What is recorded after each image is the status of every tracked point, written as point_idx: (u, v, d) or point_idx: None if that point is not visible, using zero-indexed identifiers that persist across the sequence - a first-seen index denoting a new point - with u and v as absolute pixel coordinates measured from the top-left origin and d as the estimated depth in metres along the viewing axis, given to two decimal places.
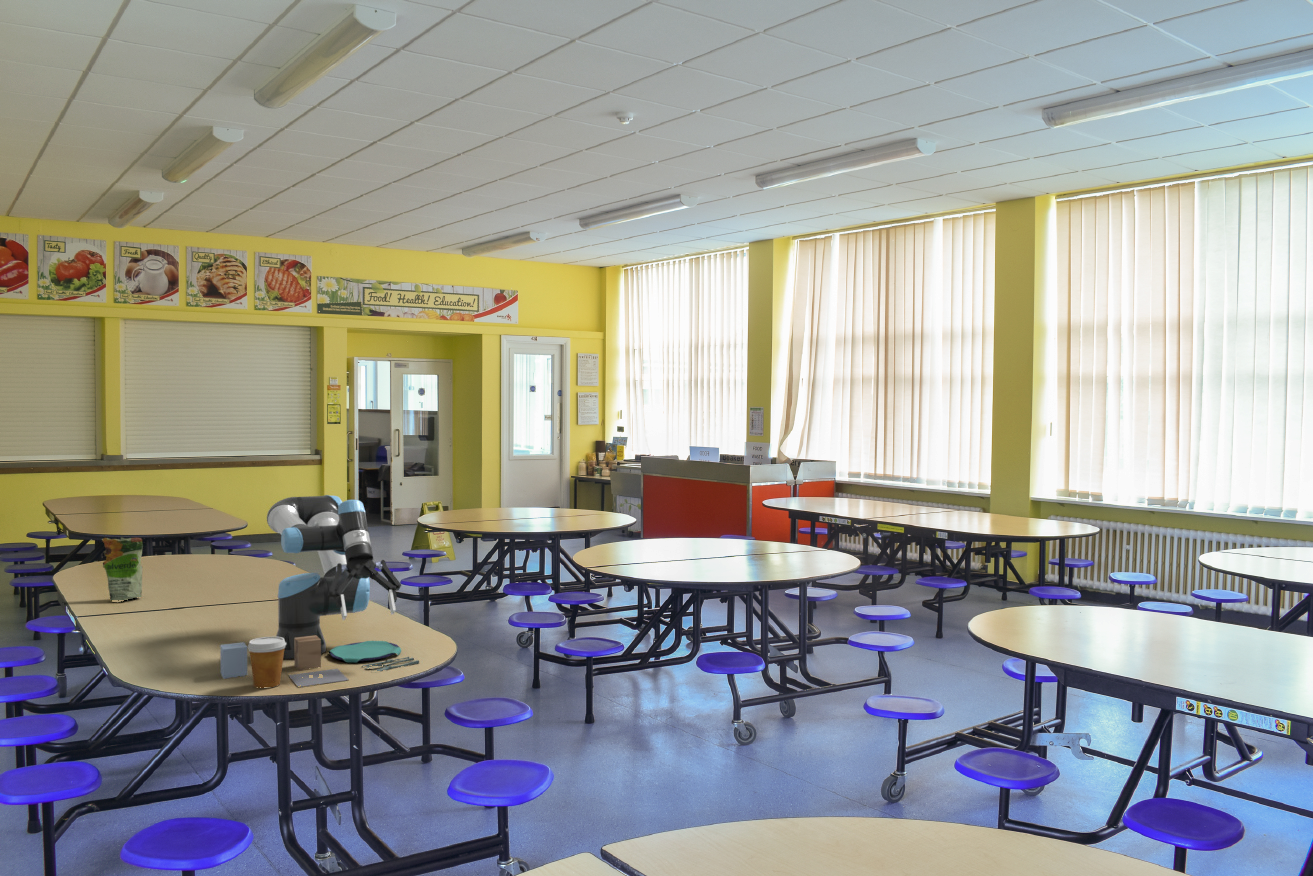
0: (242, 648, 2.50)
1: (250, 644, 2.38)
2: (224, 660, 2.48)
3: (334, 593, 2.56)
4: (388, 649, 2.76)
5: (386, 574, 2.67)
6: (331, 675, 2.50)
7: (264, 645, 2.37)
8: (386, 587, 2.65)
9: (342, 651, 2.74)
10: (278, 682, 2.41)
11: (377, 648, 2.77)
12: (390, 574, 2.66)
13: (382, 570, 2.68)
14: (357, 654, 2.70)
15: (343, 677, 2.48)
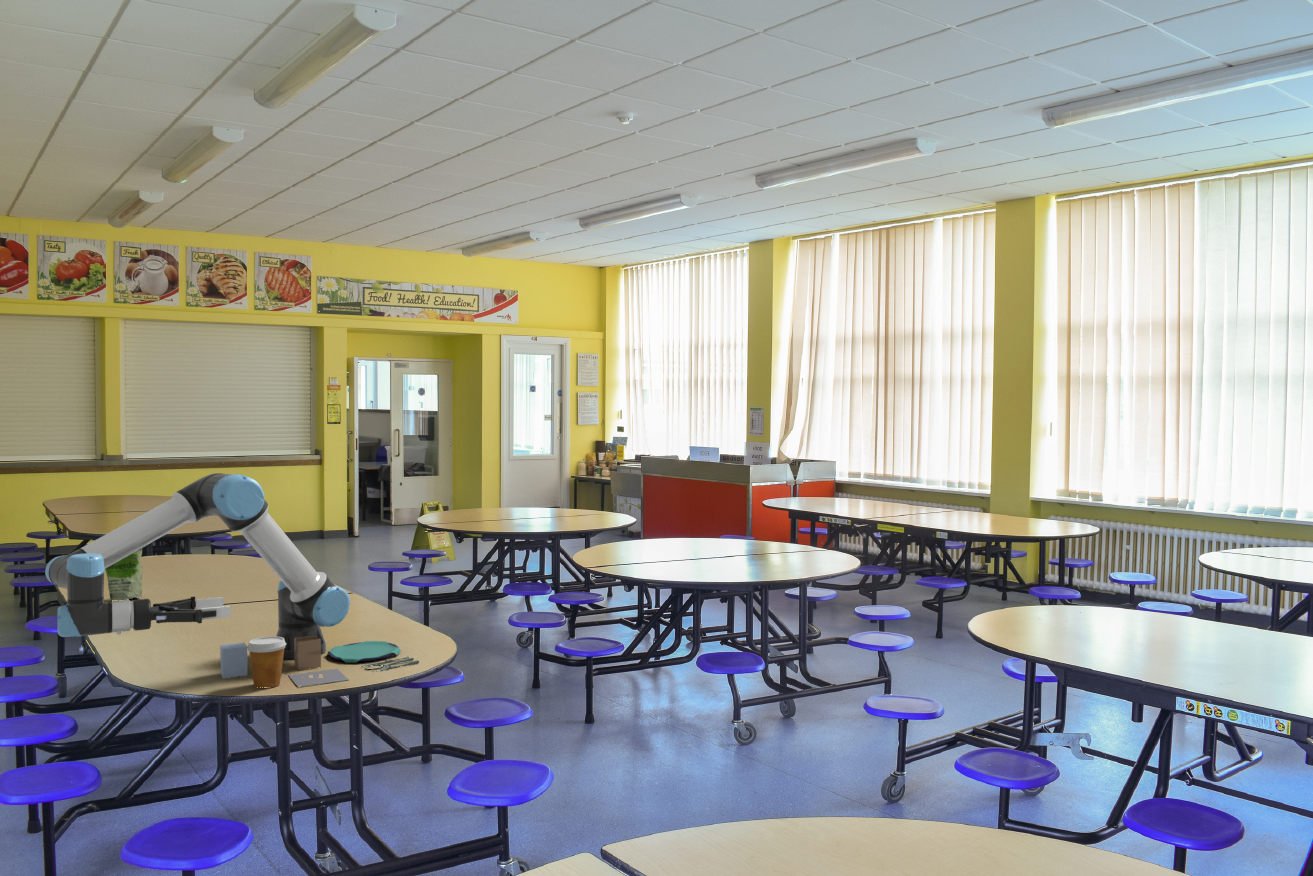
0: (242, 648, 2.50)
1: (250, 644, 2.38)
2: (224, 660, 2.48)
3: None
4: (387, 649, 2.76)
5: None
6: (331, 675, 2.50)
7: (264, 645, 2.37)
8: None
9: (341, 651, 2.73)
10: (278, 682, 2.41)
11: (376, 648, 2.77)
12: None
13: None
14: (356, 654, 2.70)
15: (343, 677, 2.48)
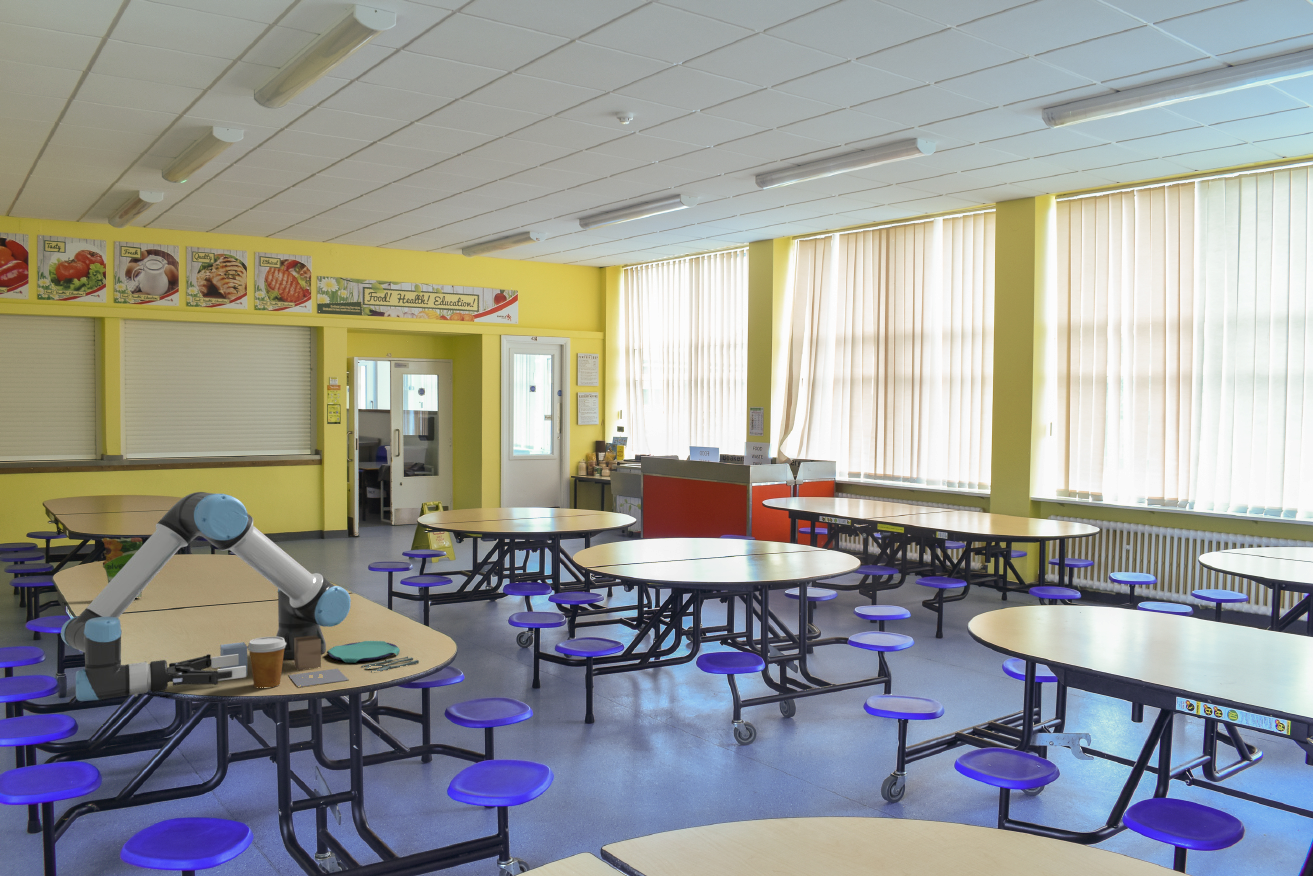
0: (242, 648, 2.50)
1: (250, 644, 2.38)
2: None
3: None
4: (386, 649, 2.76)
5: None
6: (331, 675, 2.50)
7: (264, 645, 2.37)
8: None
9: (340, 651, 2.73)
10: (278, 682, 2.41)
11: (375, 648, 2.77)
12: None
13: None
14: (355, 654, 2.70)
15: (343, 677, 2.48)
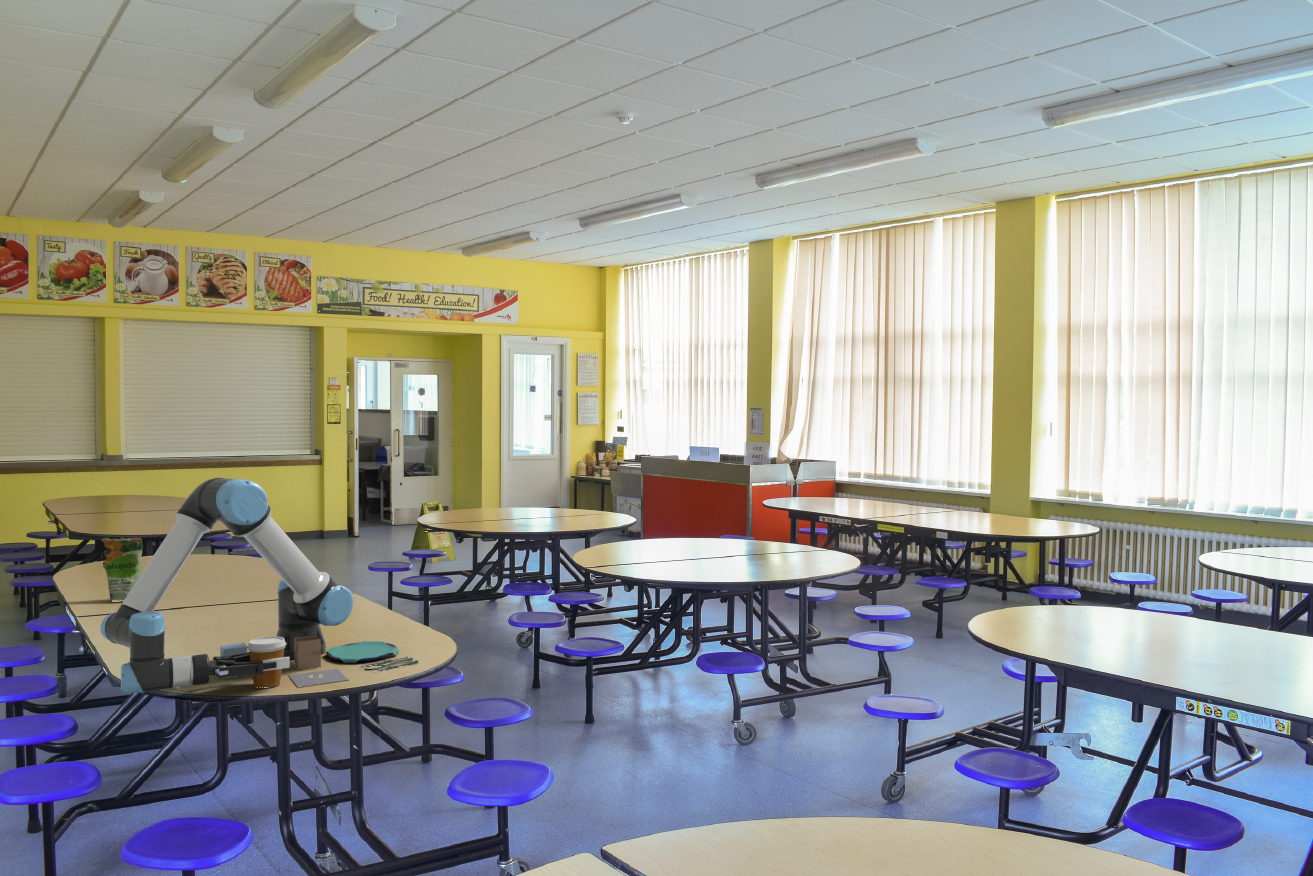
0: (242, 648, 2.50)
1: (250, 644, 2.38)
2: None
3: None
4: (385, 649, 2.76)
5: None
6: (331, 675, 2.50)
7: (264, 645, 2.37)
8: None
9: (339, 651, 2.73)
10: (278, 682, 2.41)
11: (374, 648, 2.77)
12: None
13: None
14: (355, 654, 2.70)
15: (343, 677, 2.48)
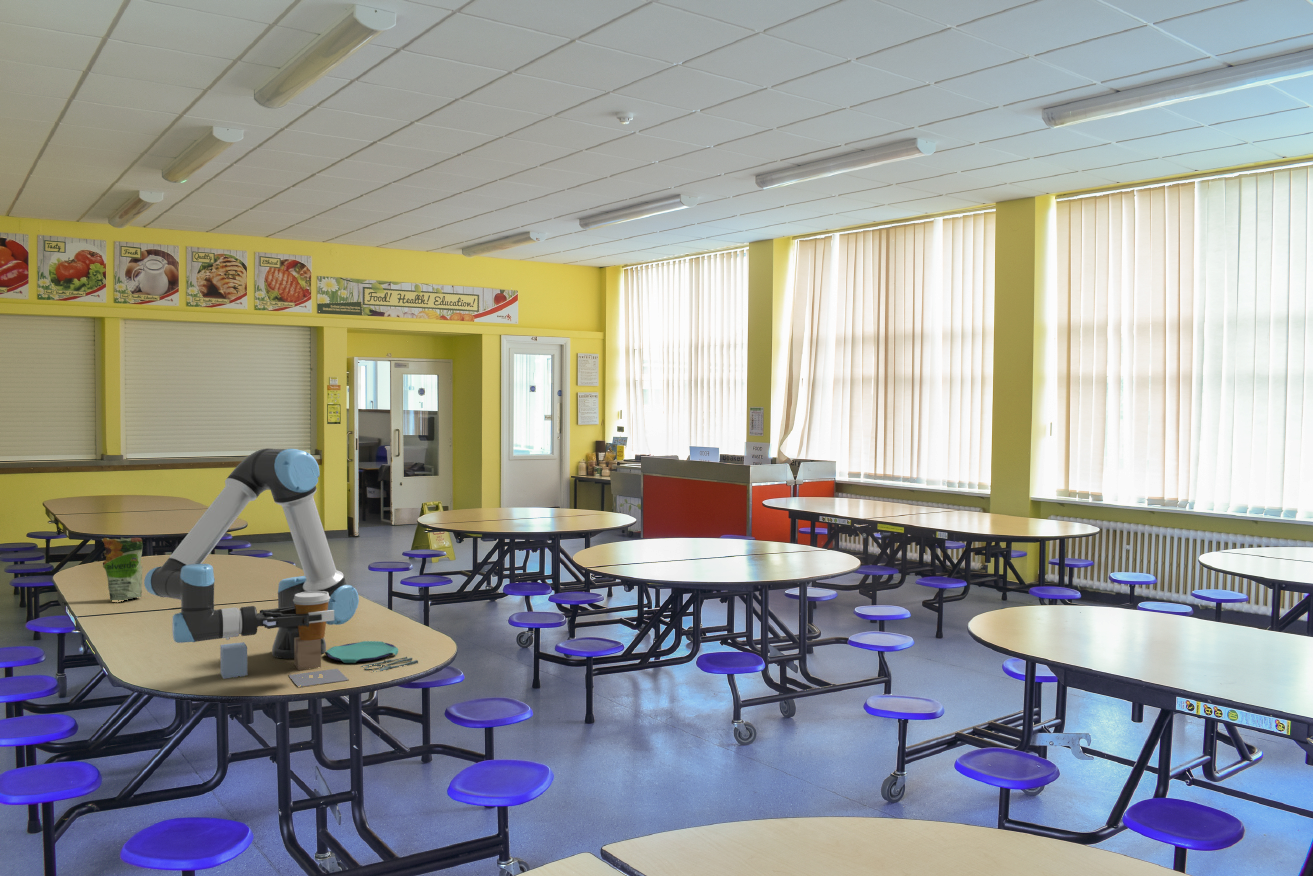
0: (242, 648, 2.50)
1: (296, 597, 2.44)
2: (224, 660, 2.48)
3: None
4: (385, 649, 2.76)
5: None
6: (331, 675, 2.50)
7: (309, 598, 2.43)
8: None
9: (339, 651, 2.73)
10: (323, 635, 2.47)
11: (373, 648, 2.77)
12: None
13: None
14: (354, 654, 2.70)
15: (343, 677, 2.48)
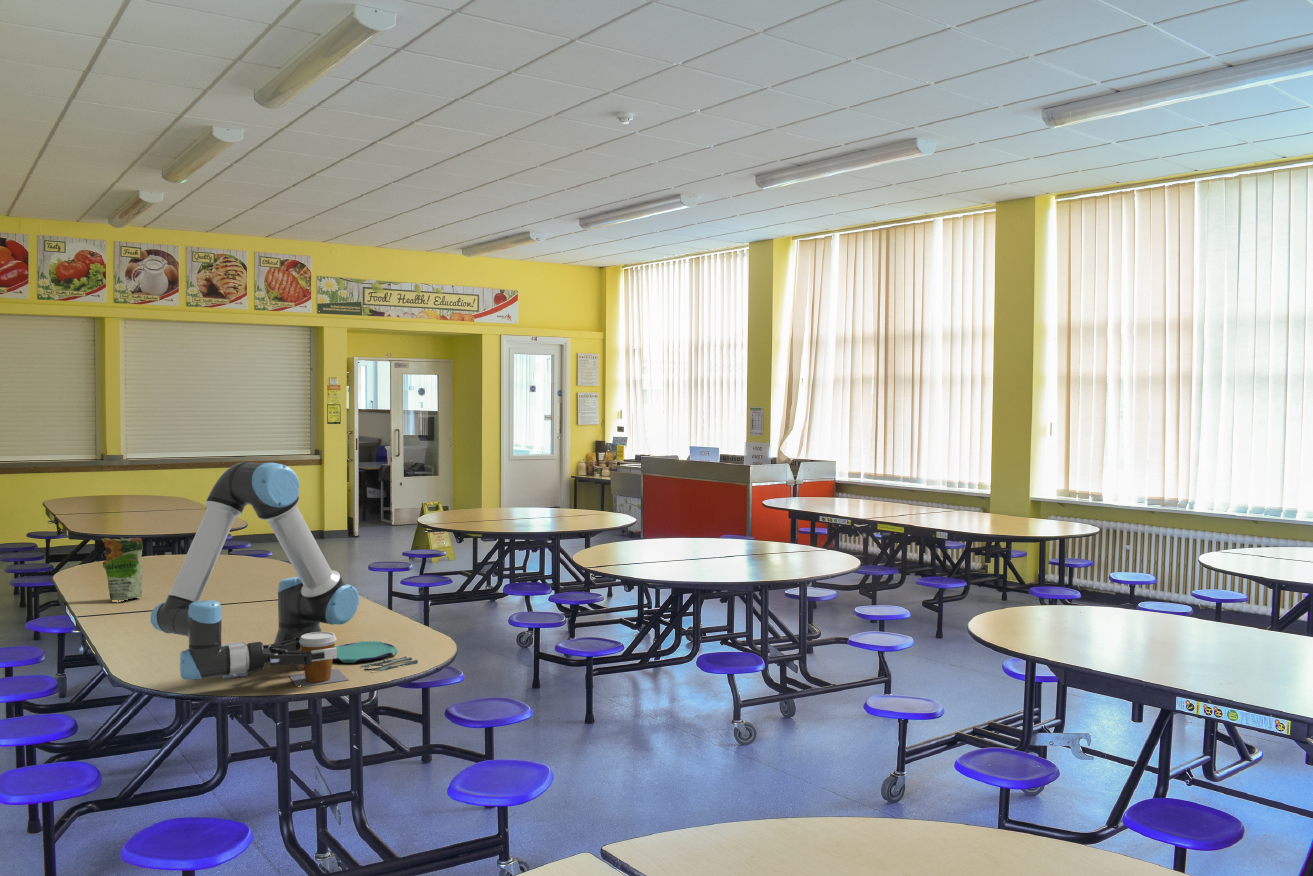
0: None
1: (302, 639, 2.43)
2: None
3: None
4: (384, 649, 2.76)
5: None
6: (331, 675, 2.50)
7: (315, 640, 2.42)
8: None
9: (337, 652, 2.73)
10: (328, 676, 2.46)
11: (372, 648, 2.77)
12: None
13: None
14: (353, 655, 2.70)
15: (343, 677, 2.48)
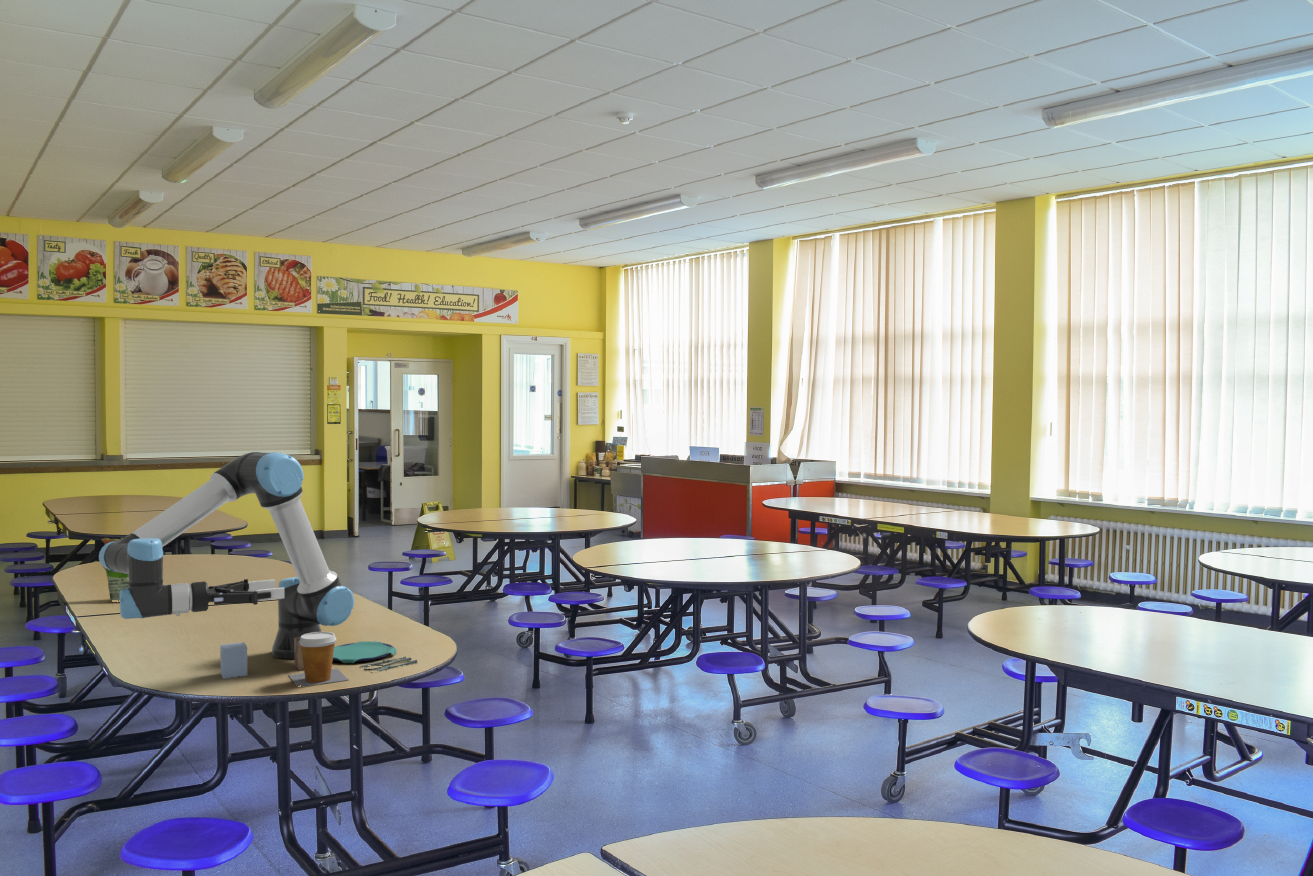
0: (242, 648, 2.50)
1: (301, 639, 2.43)
2: (224, 660, 2.48)
3: None
4: (383, 649, 2.76)
5: None
6: (331, 675, 2.50)
7: (315, 640, 2.42)
8: None
9: (336, 652, 2.72)
10: (328, 676, 2.46)
11: (371, 648, 2.77)
12: None
13: None
14: (352, 655, 2.70)
15: (343, 677, 2.48)
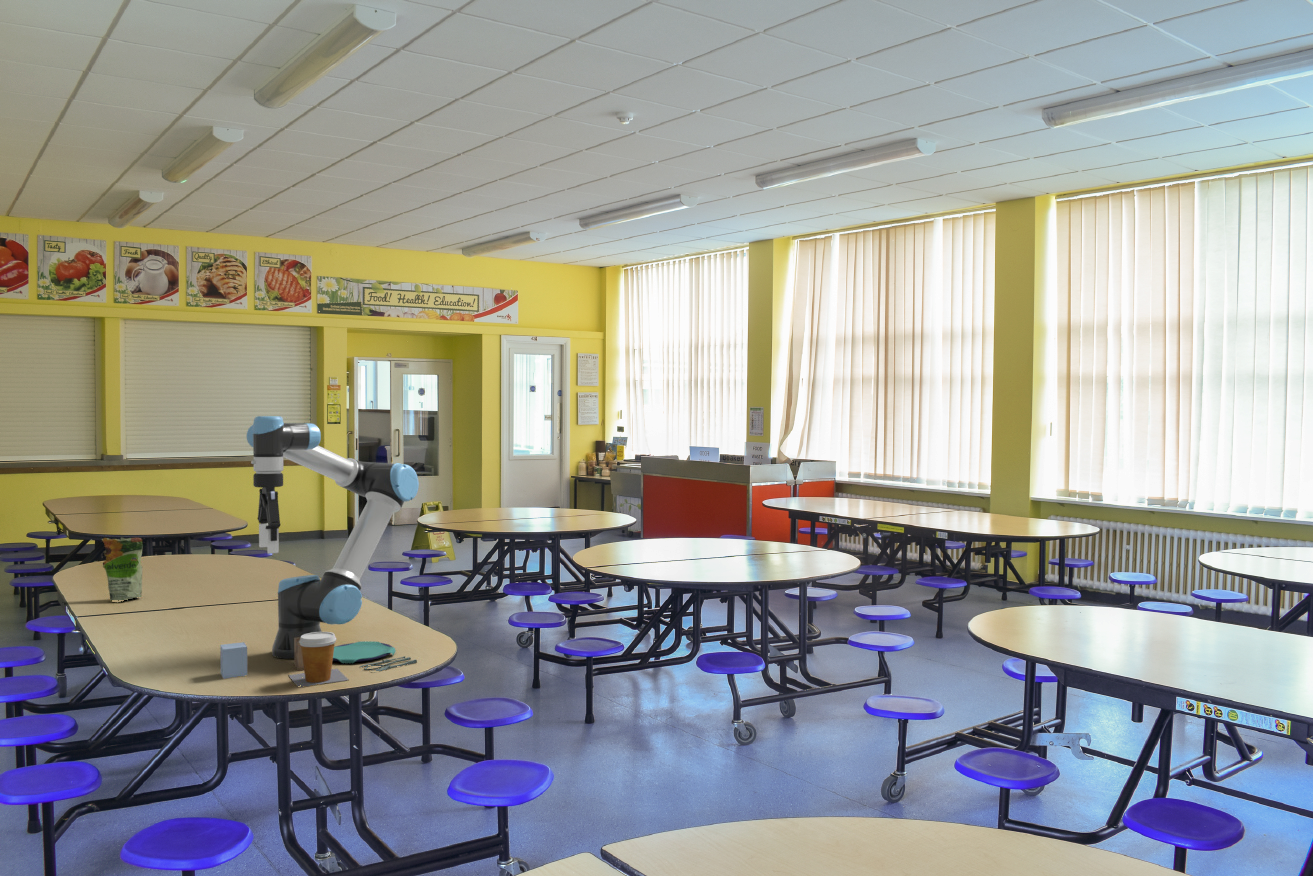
0: (242, 648, 2.50)
1: (301, 639, 2.43)
2: (224, 660, 2.48)
3: None
4: (381, 649, 2.75)
5: None
6: (331, 675, 2.50)
7: (315, 640, 2.42)
8: None
9: (335, 652, 2.72)
10: (328, 676, 2.46)
11: (370, 648, 2.77)
12: (268, 510, 2.42)
13: None
14: (351, 655, 2.70)
15: (343, 677, 2.48)
